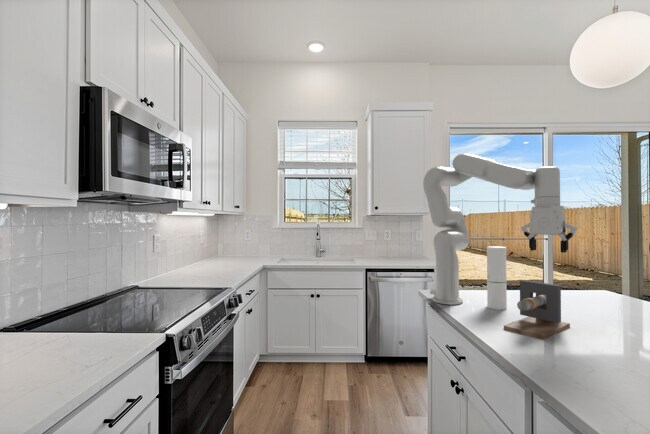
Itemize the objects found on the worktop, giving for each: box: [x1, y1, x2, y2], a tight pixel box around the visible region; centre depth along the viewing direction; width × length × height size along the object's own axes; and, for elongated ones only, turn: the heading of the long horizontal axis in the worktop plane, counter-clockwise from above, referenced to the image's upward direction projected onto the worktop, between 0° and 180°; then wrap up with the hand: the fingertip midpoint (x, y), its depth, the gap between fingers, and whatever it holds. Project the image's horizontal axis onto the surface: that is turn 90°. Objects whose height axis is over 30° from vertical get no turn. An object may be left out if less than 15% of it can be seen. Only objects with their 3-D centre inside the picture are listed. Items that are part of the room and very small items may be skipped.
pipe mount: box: [503, 293, 571, 340], centre depth 117 cm, size 12×20×12 cm, turn 125°
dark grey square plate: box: [519, 279, 562, 323], centre depth 118 cm, size 12×2×12 cm, turn 35°
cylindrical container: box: [486, 245, 508, 311], centre depth 143 cm, size 7×7×25 cm
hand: (548, 251), depth 121 cm, fingers open, 9 cm apart
